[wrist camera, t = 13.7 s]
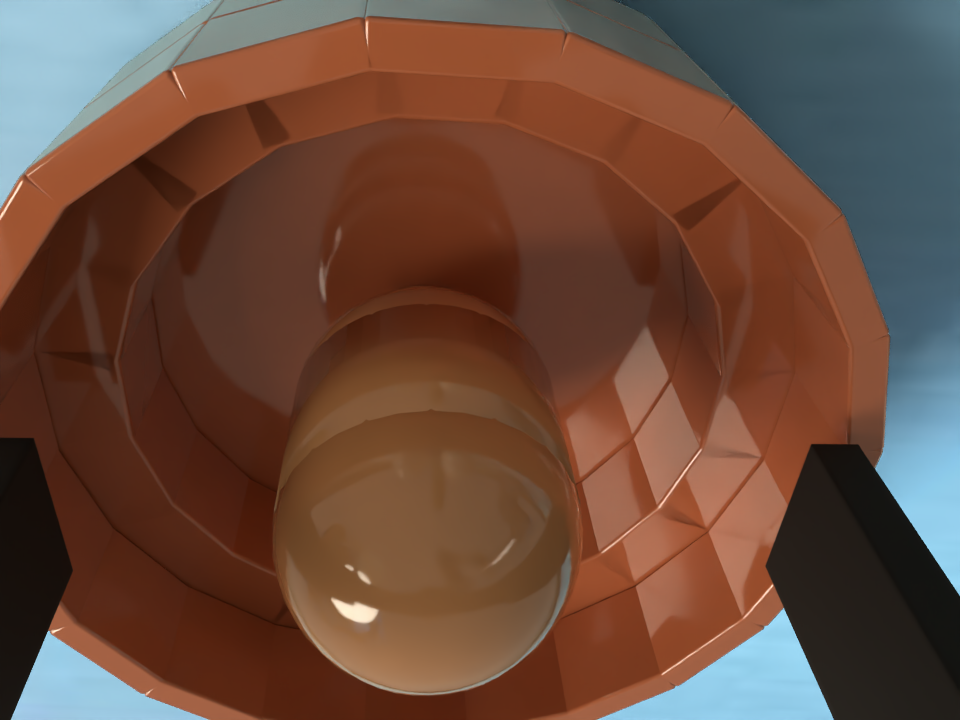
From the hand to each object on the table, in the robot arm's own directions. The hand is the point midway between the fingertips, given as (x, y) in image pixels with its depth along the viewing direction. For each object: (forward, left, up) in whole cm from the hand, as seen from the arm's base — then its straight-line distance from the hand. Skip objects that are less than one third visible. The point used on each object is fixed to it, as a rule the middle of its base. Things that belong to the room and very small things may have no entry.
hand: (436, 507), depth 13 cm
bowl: (0, 0, -5) cm, 5 cm away
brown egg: (0, 0, -5) cm, 5 cm away
